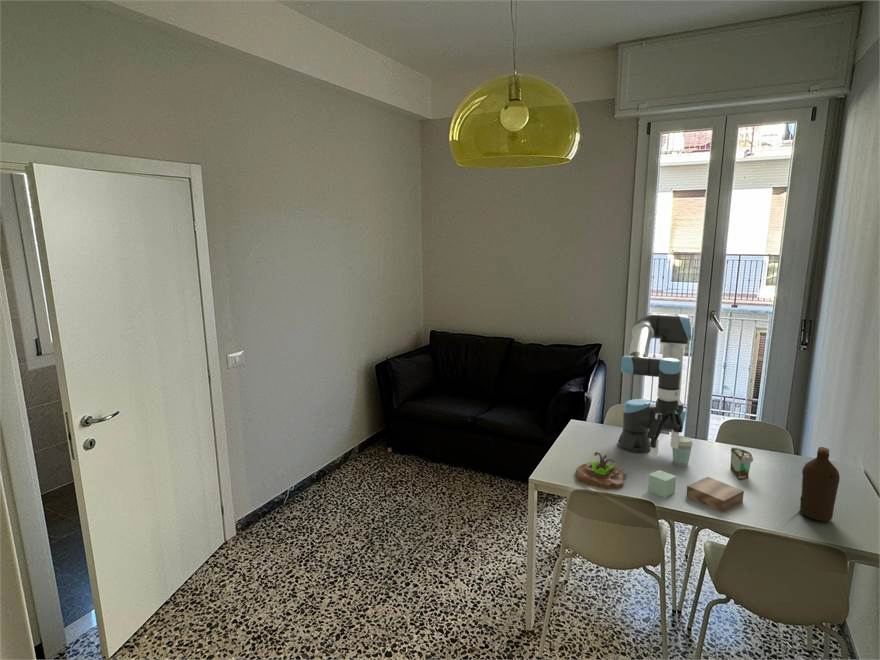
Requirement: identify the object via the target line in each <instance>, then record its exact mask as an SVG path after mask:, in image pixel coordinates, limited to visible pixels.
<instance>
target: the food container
mask: <svg viewBox="0 0 880 660" xmlns="http://www.w3.org/2000/svg"><path fill="white" fill-rule="evenodd" d="M753 458H754V457H753V454H752V453H751V452H750V451H748V450H745V449H742V448H738V447H731V449H730V470H731V472H732V473H733V474H735V475H734V476H735V477H736V479H737V480H738V481H745V480H747V479H749V475H750V469H751V465H752V463H753V462H754V459H753Z"/></svg>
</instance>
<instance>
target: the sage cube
mask: <svg viewBox="0 0 880 660" xmlns="http://www.w3.org/2000/svg"><path fill="white" fill-rule="evenodd" d="M676 482H677V476H676V475H674V474H671V473H668V472H665V471H663V470H660V469H659V470H657V471H654V472H652V473H649V474H648V487H647V488H648V489H647V491H648V492H650V493H653V494H655V495H657V496H660V497H662V498H664V499H665V498H667V497H670V496H672V495H673V494H675V492H676V484H677V483H676Z"/></svg>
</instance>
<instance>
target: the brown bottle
mask: <svg viewBox="0 0 880 660" xmlns="http://www.w3.org/2000/svg"><path fill="white" fill-rule="evenodd" d="M829 457H830V449H829V448H827V447H824V446H818V448H817V451H816V457H815V458H813V459H811V460H810V461H808V462H806V463H805V464H804V466H803V467H802V470H801V491H800V503H799V504H800V506H799V512H800V513H801V514H802V515H804V516H805V517H808V518H810V519H813V520H817V521H824V522H827V521H832V520H833V515H834V509H835V503H836V500H837V495H838V494H837V493H838V490H839V489H838V488H839V484H840V474H839V470H838V469H837V468H836V467H835V466H834V465H835V464H833V463H832V462H831V461H830V458H829Z"/></svg>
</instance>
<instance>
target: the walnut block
mask: <svg viewBox="0 0 880 660" xmlns="http://www.w3.org/2000/svg"><path fill="white" fill-rule="evenodd" d="M744 493H745V490H743V489H741V488H739V487H735V486H733V485H730V484H727V483H725V482H722V481H720V480H717V479H714V478H713V477H709V476H706V477H703V478H702V479H699V480H697V481H695V482H692V483H690V484H688V485H687V486H686V498H687V499H691V500H693V501H695V502H697V503H699V504H702V505H705V506H706V507H709V508H711V509H714V510H716V511H718V512H720V513H725V512H726V511H728V510H730V509H733V508H734V507H736V506H738V505H740V504H742V503H743V502H744Z"/></svg>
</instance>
